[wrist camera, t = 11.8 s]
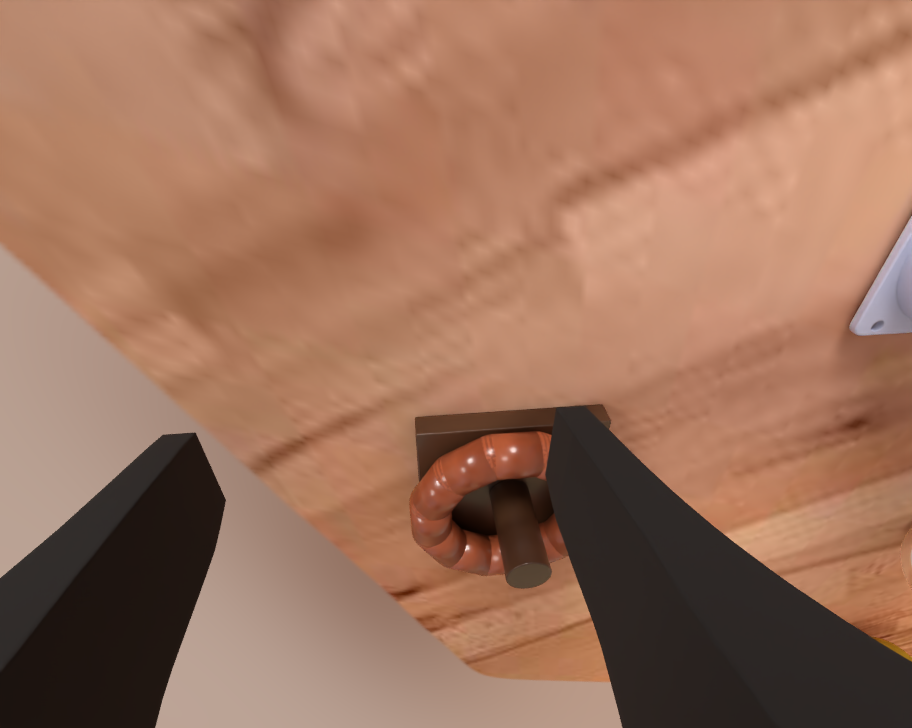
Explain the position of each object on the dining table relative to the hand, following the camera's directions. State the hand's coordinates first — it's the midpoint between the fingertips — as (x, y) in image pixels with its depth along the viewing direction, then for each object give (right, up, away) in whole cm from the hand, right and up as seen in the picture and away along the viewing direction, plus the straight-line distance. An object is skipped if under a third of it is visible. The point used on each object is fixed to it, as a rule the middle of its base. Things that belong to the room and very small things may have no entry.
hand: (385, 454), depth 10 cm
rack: (+4, -4, +15) cm, 16 cm away
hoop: (+4, -5, +13) cm, 15 cm away
